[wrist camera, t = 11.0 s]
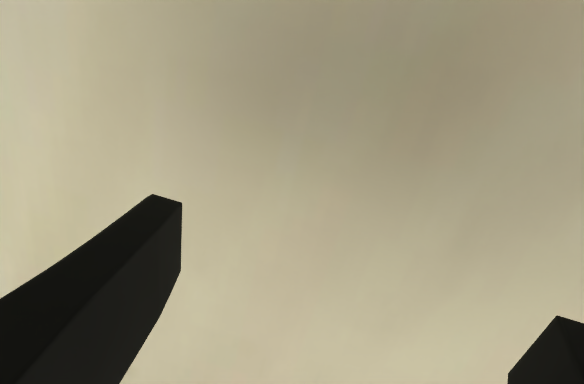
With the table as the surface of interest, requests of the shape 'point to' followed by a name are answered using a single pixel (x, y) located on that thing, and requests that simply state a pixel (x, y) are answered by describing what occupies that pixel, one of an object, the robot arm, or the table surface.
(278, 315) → the table surface
